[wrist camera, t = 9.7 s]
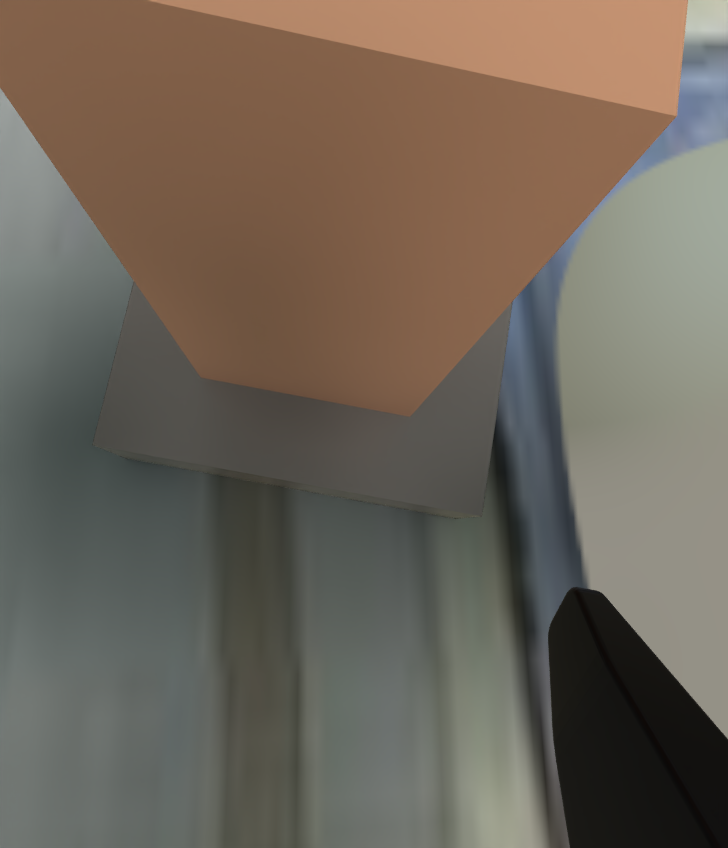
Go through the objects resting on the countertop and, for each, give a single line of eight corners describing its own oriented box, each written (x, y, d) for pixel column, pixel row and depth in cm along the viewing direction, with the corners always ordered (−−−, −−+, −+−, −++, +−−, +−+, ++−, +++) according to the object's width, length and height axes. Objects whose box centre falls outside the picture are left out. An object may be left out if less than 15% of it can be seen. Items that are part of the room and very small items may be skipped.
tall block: (410, 416, 17) (677, 116, 5) (201, 377, 17) (-98, -54, 4) (441, 224, 18) (729, -441, 6) (244, 183, 18) (99, -611, 5)
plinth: (455, 518, 20) (482, 516, 17) (125, 458, 19) (92, 444, 16) (501, 217, 21) (531, 167, 18) (199, 154, 21) (181, 92, 18)
